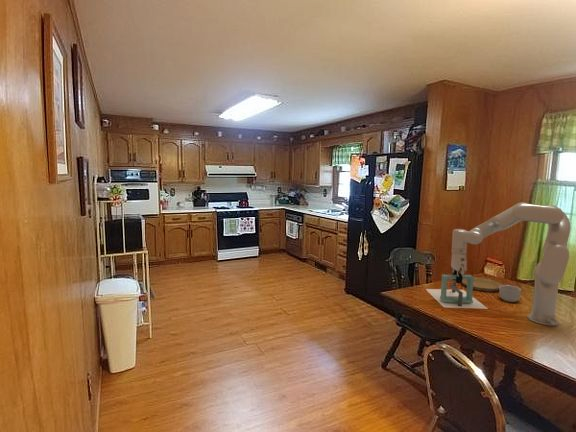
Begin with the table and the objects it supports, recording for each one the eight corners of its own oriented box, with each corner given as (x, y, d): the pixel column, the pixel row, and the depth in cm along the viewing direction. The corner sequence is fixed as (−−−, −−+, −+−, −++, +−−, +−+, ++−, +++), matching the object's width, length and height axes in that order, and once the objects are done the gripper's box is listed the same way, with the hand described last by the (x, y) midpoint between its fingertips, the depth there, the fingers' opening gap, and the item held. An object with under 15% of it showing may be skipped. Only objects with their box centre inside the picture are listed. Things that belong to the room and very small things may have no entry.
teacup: (519, 305, 190) (520, 292, 189) (497, 301, 197) (498, 288, 196) (520, 298, 201) (521, 285, 200) (499, 294, 208) (500, 282, 207)
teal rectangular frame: (472, 302, 187) (474, 277, 186) (444, 302, 188) (445, 277, 187) (467, 299, 193) (469, 274, 192) (440, 298, 194) (441, 274, 193)
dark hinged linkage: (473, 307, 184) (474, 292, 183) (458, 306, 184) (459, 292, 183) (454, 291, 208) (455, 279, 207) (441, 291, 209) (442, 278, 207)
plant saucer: (455, 286, 223) (455, 281, 223) (468, 279, 239) (469, 274, 238) (495, 296, 205) (495, 291, 205) (507, 287, 221) (507, 282, 220)
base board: (488, 311, 182) (488, 308, 181) (443, 309, 183) (443, 307, 183) (463, 292, 211) (463, 289, 211) (425, 291, 213) (425, 288, 213)
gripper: (472, 254, 179) (470, 286, 181) (459, 247, 195) (457, 277, 198) (458, 254, 179) (456, 286, 182) (446, 247, 196) (444, 277, 198)
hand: (457, 281), depth 190 cm, fingers closed on teal rectangular frame, 4 cm apart
